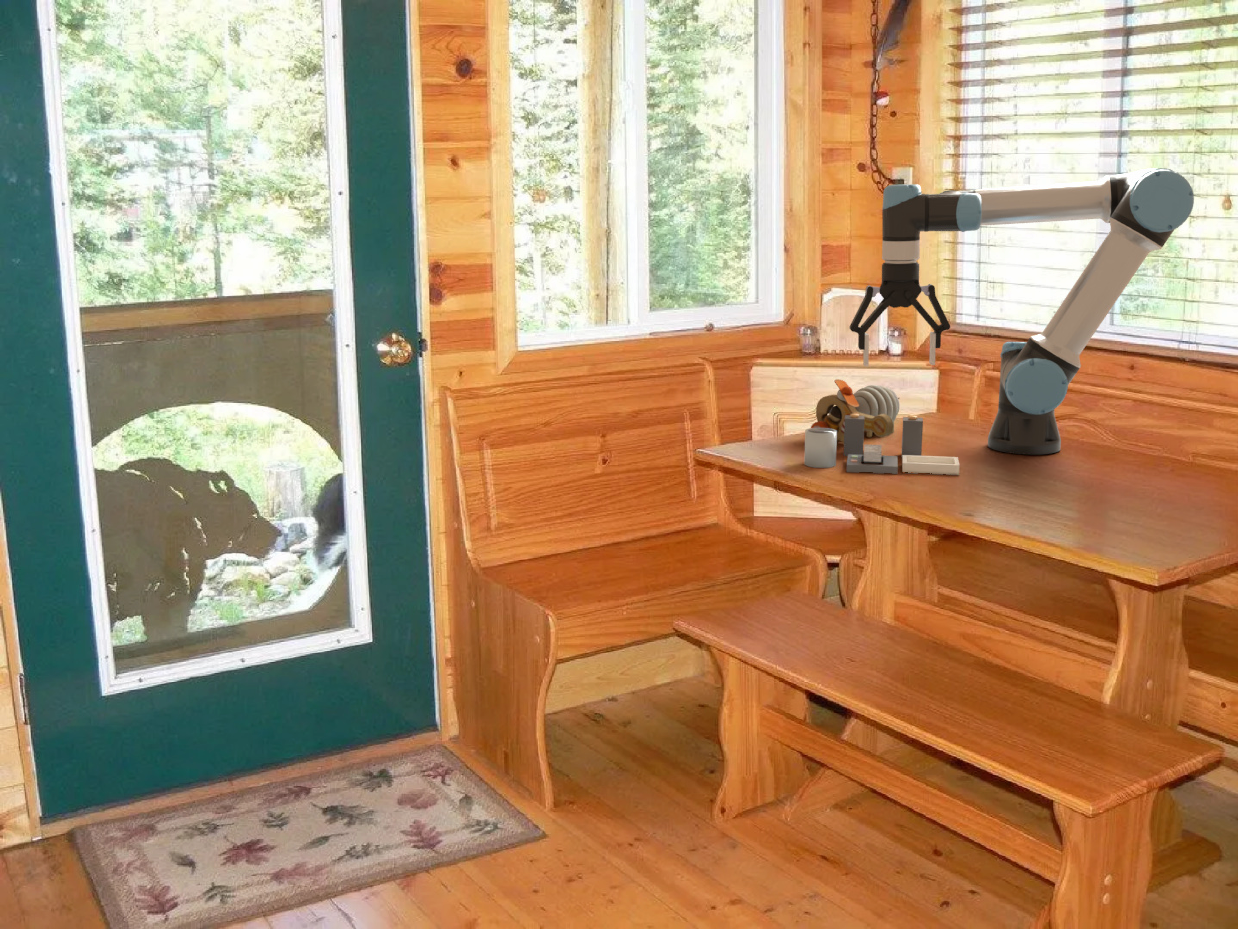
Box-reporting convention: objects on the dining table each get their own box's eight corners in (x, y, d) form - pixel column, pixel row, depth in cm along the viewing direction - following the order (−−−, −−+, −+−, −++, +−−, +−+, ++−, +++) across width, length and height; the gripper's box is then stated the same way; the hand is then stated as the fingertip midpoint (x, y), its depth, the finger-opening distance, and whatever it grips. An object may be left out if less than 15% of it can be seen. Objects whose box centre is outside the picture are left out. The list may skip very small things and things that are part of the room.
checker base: (897, 463, 290) (897, 454, 290) (897, 474, 281) (897, 465, 280) (847, 461, 292) (848, 452, 292) (846, 472, 282) (846, 463, 282)
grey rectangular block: (881, 454, 289) (881, 444, 288) (880, 461, 282) (881, 452, 282) (864, 453, 289) (864, 444, 289) (863, 461, 283) (864, 451, 282)
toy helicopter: (830, 436, 317) (832, 375, 314) (903, 451, 301) (906, 388, 298) (805, 441, 312) (807, 379, 309) (877, 456, 296) (880, 392, 293)
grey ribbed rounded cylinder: (912, 432, 322) (914, 383, 319) (868, 442, 310) (870, 392, 308) (873, 425, 329) (875, 378, 327) (829, 435, 317) (831, 387, 315)
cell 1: (863, 452, 300) (864, 413, 298) (862, 456, 296) (864, 416, 294) (844, 452, 301) (845, 412, 299) (843, 456, 297) (844, 415, 295)
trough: (957, 466, 287) (957, 457, 286) (959, 475, 280) (959, 465, 279) (902, 464, 289) (902, 455, 288) (902, 472, 282) (902, 463, 281)
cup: (836, 461, 292) (837, 427, 290) (835, 468, 285) (836, 434, 284) (805, 460, 293) (806, 426, 291) (803, 467, 287) (804, 432, 285)
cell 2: (920, 455, 298) (922, 414, 296) (921, 459, 294) (923, 418, 292) (901, 454, 299) (903, 414, 297) (901, 458, 295) (903, 417, 293)
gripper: (959, 258, 291) (956, 360, 296) (837, 261, 292) (836, 363, 297) (965, 261, 284) (963, 366, 288) (840, 264, 285) (840, 368, 290)
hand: (898, 364), depth 293 cm, fingers open, 13 cm apart
